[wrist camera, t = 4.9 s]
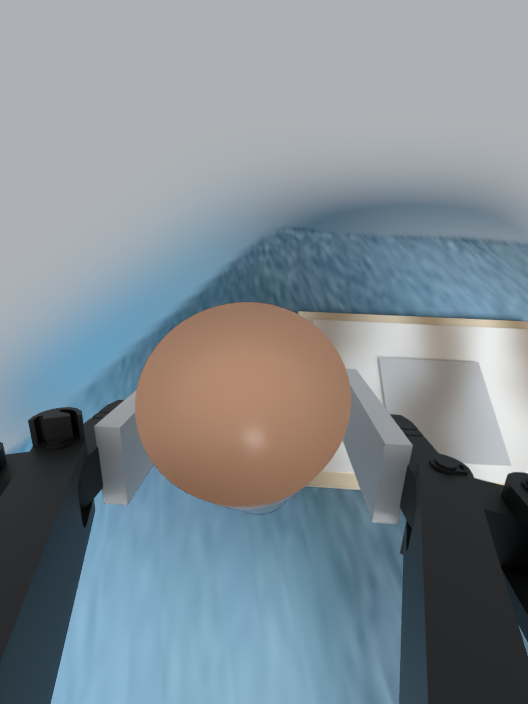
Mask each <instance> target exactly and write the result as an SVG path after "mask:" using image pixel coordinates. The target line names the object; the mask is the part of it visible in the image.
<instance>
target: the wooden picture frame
mask: <svg viewBox="0 0 528 704" xmlns="http://www.w3.org/2000/svg"><path fill="white" fill-rule="evenodd" d="M298 315H300V316H302V317H303V318H305V319H307V320H308V321H310V322H311V323H312V324H314V325H315V326H316V327H318V328H319V329H320V330H321V331H322V332H323V333H324V334H325V335H326V336H327V337H328V339H329V340H330V341H331V342H332V344H333V345H334V346H335V348H336V350H337V351H338V353H339V355H340V356H341V359H342V361H343V363H344V365H345V368H346V369H356V370H357V371H358V372H359V374H360V375H361V376H362V378H363V379H364V380H365V382H366V383H367V384H368V386H369V387H370V388H371V390H372V391H373V392H374V394H375V395H376V396H377V398H378V399H379V400H380V402H381V403H382V405H383V406H384V407H385V409H386V410H387V411H388V413H389V414H394V415H402V416H404V417H405V418H407V419H408V420H410V421H412V422H413V424H414V425H415V426H416V427H417V428H418V431H420V432H421V433H422V434H423V435H424V437H425V438H426V439H427V440H428V441H429V442H430V444H431V445H432V446H433V447H434V448H435V449H436V451H437V452H438V453H439V454H444V455H447V456H450V457H453V458H455V459H457V460H459V461H460V462H462V463H463V464H465V465H466V466H467V467H468V468H469V469H470V470H471V472H472V473H473V476H474V478H477V479H480V480H484V481H488V482H492V483H496V484H500V485H504V484H505V481H506V478H507V475H508V474H509V473H512V472H524V473H528V321H506V320H483V319H461V318H438V317H415V316H392V315H369V314H347V313H324V312H301V311H298ZM306 486H308V487H324V488H339V489H354V490H360V487H359V484H358V482H357V479H356V476H355V473H354V470H353V468H352V465H351V462H350V459H349V457H348V454H347V451H346V448H345V445H344V443H343V440H342V442H341V444H340V447H339V448H338V450H337V451H336V453H335V455H334V456H333V458H332V459H331V461H330V462H329V463H328V464H327V465H326V467H325V468H324V469H323V470H322V471H321V472H320V473H319V474H318V475H317V476H316V477H315V478H314V479H313V480H312V481H311V482H310V483H309V484H307V485H306Z"/></svg>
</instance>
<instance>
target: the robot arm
mask: <svg viewBox="0 0 528 704" xmlns="http://www.w3.org/2000/svg"><path fill="white" fill-rule="evenodd" d="M346 371H347V374H348V378H349V383H350V390H351V410H350V418H349V422H348V426H347V429H346V433H345V435H344V438H343V443H344V445H345V448H346V451H347V454H348V457H349V459H350V462H351V465H352V468H353V470H354V473H355V476H356V479H357V482H358V484H359V487H360V490H361V493H362V495H363V498H364V501H365V504H366V507H367V509H368V512H369V515H370V518H371V520H372V522H373V523H387V524H398V519H399V514H400V509H401V510H402V512H403V514H404V516H405V518H406V520H407V522H406V526H405V531H404V536H403V541H402V546H401V551H400V553H401V554H403V555H404V558H403V592H402V625H401V659H400V693H399V704H528V656H527V652H526V649H525V646H524V642H523V639H522V636H521V632H520V629H519V626H520V628H521V630H522V632H523V634H524V636H525V638H526V640H527V641H528V473H524V472H512V473H509V474H508V475H507V478H506V481H505V484H504V485H500V484H496V483H492V482H488V481H484V480H480V479H477V478H474V476H473V473H472V472H471V470H470V469H469V468H468V467H467V466H466V465H465V464H463V463H462V462H460V461H459V460H457V459H455V458H453V457H450V456H447V455H444V454H439V453H438V452H437V451H436V449H435V448H434V447H433V446H432V445H431V444H430V442H429V441H428V440H427V439H426V438H425V437H424V435H423V434H422V433H421V432H420V431H418V428H417V427H416V426H415V425H414V424H413V422H412V421H410V420H408V419H407V418H405V417H404V416H402V415H394V414H389V413H388V411H387V410H386V409H385V407H384V406H383V405H382V403H381V402H380V400H379V399H378V398H377V396H376V395H375V394H374V392H373V391H372V390H371V388H370V387H369V386H368V384H367V383H366V382H365V380H364V379H363V378H362V376H361V375H360V374H359V372H358V371H357V370H356V369H346ZM136 391H137V390H136ZM136 391H135V392H133V393H132V394H131V395H130V396H129V397H128V398H126V399H125V400H118V401H115V402H113V403H111V404H109V405H107V406H105V407H104V408H103V409H102V410H100V411H99V413H97V414H95V415H94V416H93V417H92V418H91V419H89V420H88V421H87V422H86V423H84V424H83V418H82V411H81V410H79V409H77V408H72V407H65V408H56V409H51V410H48V411H44V412H41V413H39V414H37V415H35V416H33V417H32V418H31V419H29V420H28V422H29V428H30V433H31V438H32V443H33V447H32V449H31V450H30V452H24V453H16V454H7V455H5V451H4V447H3V443H1V442H0V704H51V699H52V695H53V691H54V686H55V682H56V678H57V673H58V669H59V665H60V661H61V656H62V652H63V648H64V643H65V639H66V635H67V630H68V626H69V622H70V617H71V613H72V609H73V604H74V600H75V596H76V591H77V587H78V583H79V578H80V574H81V570H82V565H83V561H84V557H85V552H86V548H87V544H88V539H89V535H90V531H91V526H92V522H93V518H94V513H95V504H94V498H95V496H96V495H97V494H98V493H99V491H100V490H101V489H102V491H103V499H104V504H117V505H128V504H129V502H130V501H131V499H132V498H133V496H134V495H135V493H136V491H137V490H138V488H139V487H140V485H141V484H142V482H143V480H144V479H145V477H146V476H147V474H148V473H149V471H150V469H151V468H152V466H153V465H154V464H153V463H152V461H151V460H150V458H149V456H148V455H147V453H146V451H145V449H144V447H143V445H142V442H141V439H140V437H139V434H138V429H137V424H136V417H135V398H136ZM518 625H519V626H518Z"/></svg>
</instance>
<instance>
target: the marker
mask: <svg viewBox="0 0 528 704" xmlns="http://www.w3.org/2000/svg"><path fill="white" fill-rule="evenodd" d="M350 410H351V390H350V383H349V378H348V374H347V371H346V368H345V365H344V363H343V361H342V359H341V356H340V355H339V353H338V351H337V350H336V348H335V346H334V345H333V344H332V342H331V341H330V340H329V339H328V337H327V336H326V335H325V334H324V333H323V332H322V331H321V330H320V329H319V328H318V327H316V326H315V325H314V324H312V323H311V322H310V321H308V320H307V319H305V318H303V317H302V316H300V315H298V314H296V313H294V312H292V311H290V310H287V309H285V308H281V307H278V306H275V305H270V304H265V303H256V302H238V303H229V304H224V305H219V306H215V307H212V308H209V309H206V310H204V311H201V312H199V313H197V314H195V315H193V316H191V317H189V318H188V319H186V320H184V321H183V322H181V323H180V324H179V325H177V326H176V327H175V328H173V329H172V330H171V331H170V332H169V333H168V334H167V335H166V336H165V337H164V338H163V339H162V340H161V341H160V342H159V344H158V345H157V346H156V347H155V349H154V350H153V352H152V353H151V355H150V356H149V358H148V360H147V362H146V364H145V366H144V368H143V370H142V373H141V376H140V378H139V381H138V386H137V391H136V398H135V417H136V424H137V429H138V434H139V437H140V439H141V442H142V445H143V447H144V449H145V451H146V453H147V455H148V456H149V458H150V460H151V461H152V463H153V464H154V465H155V466H156V468H157V469H158V470H159V471H160V473H161V474H163V475H164V476H165V477H166V478H167V479H168V480H169V481H170V482H171V483H173V484H174V485H175V486H177V487H178V488H180V489H181V490H183V491H184V492H186V493H188V494H191V495H193V496H195V497H197V498H199V499H202V500H205V501H208V502H211V503H214V504H216V505H220V506H223V507H226V508H231V509H238V510H242V511H244V512H246V513H250V514H255V515H262V514H267V513H271V512H273V511H275V510H277V509H278V508H280V507H281V506H282V505H283V504H284V503H285V502H286V501H287V500H288V499H289V498H291V497H292V496H294V495H295V494H297V493H298V492H300V491H301V490H302V489H303V488H304V487H305V486H306V485H307V484H309V483H310V482H311V481H312V480H313V479H314V478H315V477H316V476H317V475H318V474H319V473H320V472H321V471H322V470H323V469H324V468H325V467H326V465H327V464H328V463H329V462H330V461H331V459H332V458H333V456H334V455H335V453H336V451H337V450H338V448H339V447H340V444H341V442H342V440H343V438H344V435H345V433H346V429H347V426H348V422H349V418H350Z"/></svg>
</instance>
